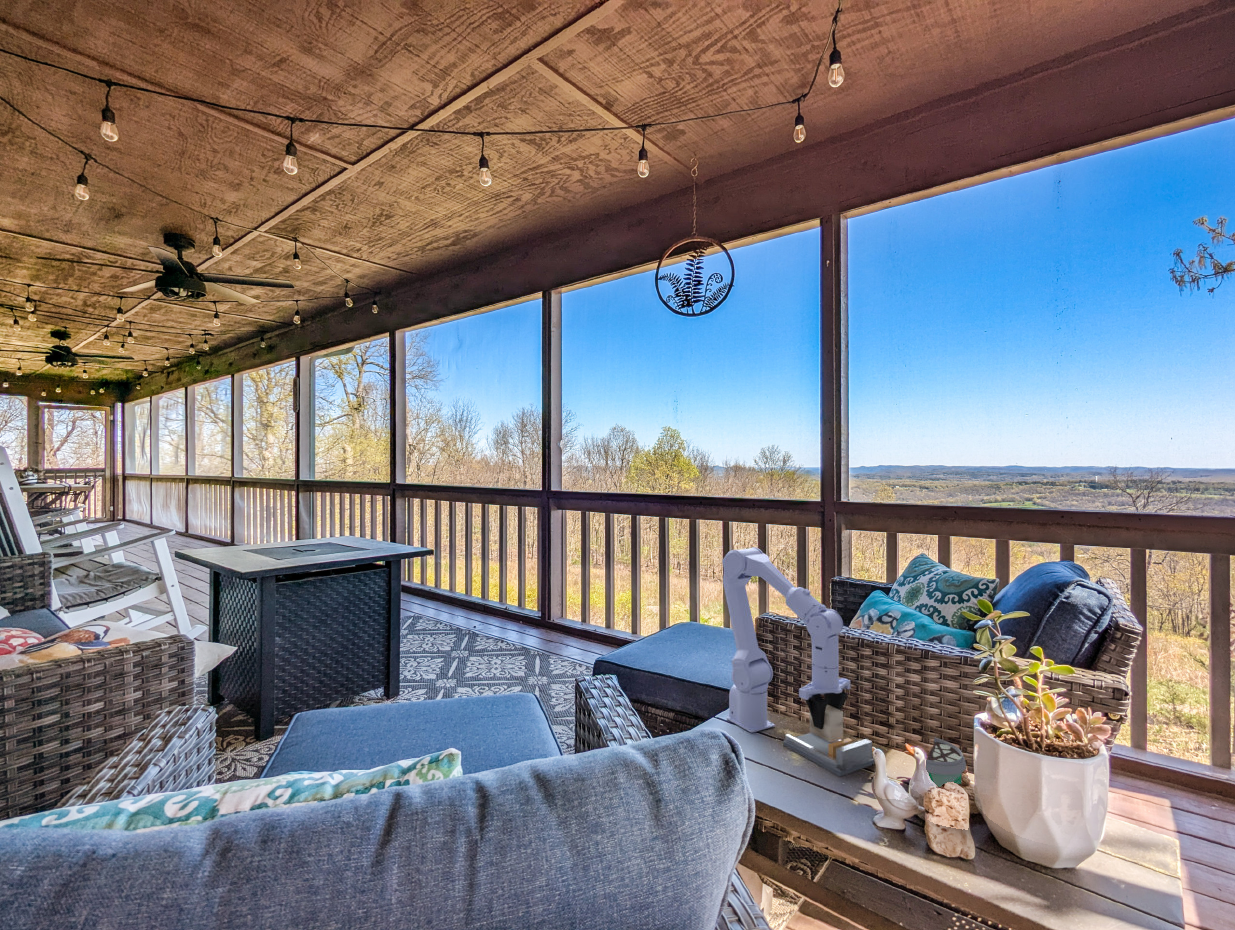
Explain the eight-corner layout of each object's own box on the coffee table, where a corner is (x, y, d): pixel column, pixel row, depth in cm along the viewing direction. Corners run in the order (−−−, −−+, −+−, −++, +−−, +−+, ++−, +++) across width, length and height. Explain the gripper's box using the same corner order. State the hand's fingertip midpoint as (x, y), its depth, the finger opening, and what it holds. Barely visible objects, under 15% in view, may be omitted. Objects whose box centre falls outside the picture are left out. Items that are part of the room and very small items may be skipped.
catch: (828, 758, 124) (828, 744, 124) (848, 751, 127) (848, 737, 127) (832, 760, 123) (832, 746, 123) (852, 753, 126) (852, 740, 126)
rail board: (783, 745, 133) (783, 723, 133) (816, 735, 138) (816, 714, 138) (839, 776, 119) (839, 752, 119) (874, 764, 124) (874, 740, 124)
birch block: (809, 731, 130) (809, 705, 130) (821, 728, 132) (821, 702, 132) (830, 742, 125) (830, 714, 125) (843, 738, 127) (843, 711, 127)
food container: (962, 827, 102) (962, 770, 102) (924, 814, 105) (923, 759, 106) (970, 796, 111) (969, 745, 112) (934, 786, 115) (934, 736, 115)
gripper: (816, 675, 122) (816, 739, 122) (861, 664, 129) (861, 725, 129) (791, 665, 128) (792, 726, 128) (836, 656, 135) (836, 714, 135)
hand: (825, 725), depth 129 cm, fingers closed on birch block, 4 cm apart
